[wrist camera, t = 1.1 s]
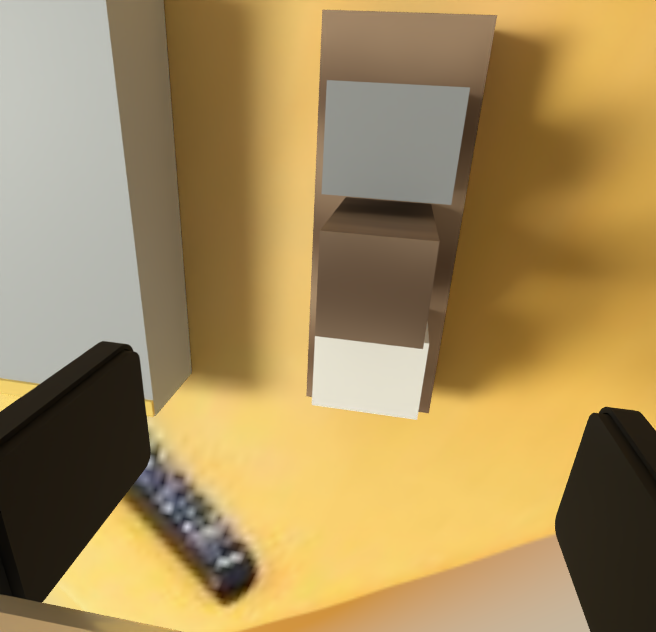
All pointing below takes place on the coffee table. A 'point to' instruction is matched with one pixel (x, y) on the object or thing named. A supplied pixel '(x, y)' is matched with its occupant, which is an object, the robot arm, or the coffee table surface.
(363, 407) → the block
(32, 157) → the dock
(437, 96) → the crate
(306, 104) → the coffee table surface
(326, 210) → the brown open frame
